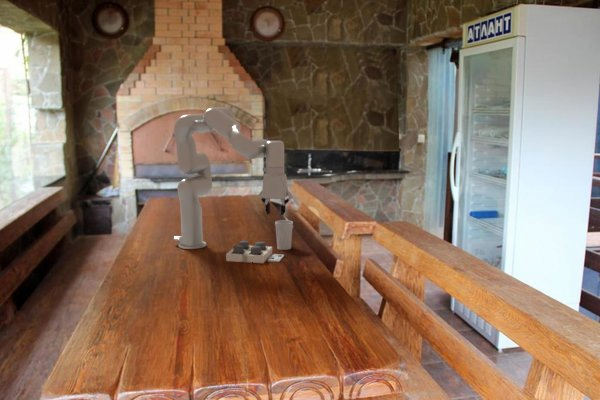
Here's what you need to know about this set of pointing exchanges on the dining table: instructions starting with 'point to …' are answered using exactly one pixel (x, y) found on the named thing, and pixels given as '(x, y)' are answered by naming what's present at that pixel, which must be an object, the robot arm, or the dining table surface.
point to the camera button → (238, 249)
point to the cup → (284, 234)
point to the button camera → (255, 250)
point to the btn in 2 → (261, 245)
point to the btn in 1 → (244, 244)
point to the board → (249, 256)
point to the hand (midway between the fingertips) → (275, 213)
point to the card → (275, 258)
